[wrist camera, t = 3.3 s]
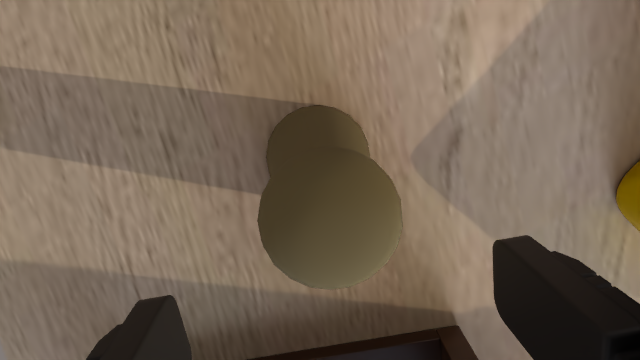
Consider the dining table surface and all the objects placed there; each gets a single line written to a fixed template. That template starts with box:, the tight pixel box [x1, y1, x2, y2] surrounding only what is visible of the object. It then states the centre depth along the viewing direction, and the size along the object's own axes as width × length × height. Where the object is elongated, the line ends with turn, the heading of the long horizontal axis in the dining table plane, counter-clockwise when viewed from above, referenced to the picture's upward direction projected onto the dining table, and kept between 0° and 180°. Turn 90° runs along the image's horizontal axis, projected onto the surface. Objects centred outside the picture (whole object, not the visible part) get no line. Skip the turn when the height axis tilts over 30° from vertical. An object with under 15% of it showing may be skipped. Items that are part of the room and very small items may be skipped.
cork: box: [258, 105, 403, 290], centre depth 18 cm, size 6×6×11 cm
